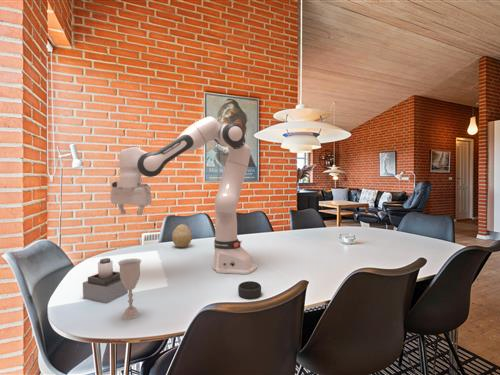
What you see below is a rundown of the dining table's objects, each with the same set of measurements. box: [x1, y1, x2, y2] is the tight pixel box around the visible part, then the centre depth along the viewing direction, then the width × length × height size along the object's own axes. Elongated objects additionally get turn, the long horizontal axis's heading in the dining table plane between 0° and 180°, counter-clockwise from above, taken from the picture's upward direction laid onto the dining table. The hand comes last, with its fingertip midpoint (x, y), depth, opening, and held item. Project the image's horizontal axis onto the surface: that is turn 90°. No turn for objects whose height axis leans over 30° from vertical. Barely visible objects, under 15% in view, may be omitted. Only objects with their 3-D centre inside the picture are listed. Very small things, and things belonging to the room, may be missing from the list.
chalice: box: [117, 258, 142, 320], centre depth 93 cm, size 7×7×18 cm
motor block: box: [82, 270, 129, 304], centre depth 110 cm, size 16×10×8 cm, turn 69°
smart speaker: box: [237, 280, 262, 300], centre depth 109 cm, size 9×9×4 cm
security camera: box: [97, 257, 114, 279], centre depth 108 cm, size 5×5×8 cm
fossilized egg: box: [171, 223, 193, 248], centre depth 183 cm, size 13×13×15 cm
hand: (131, 214), depth 125 cm, fingers open, 8 cm apart
